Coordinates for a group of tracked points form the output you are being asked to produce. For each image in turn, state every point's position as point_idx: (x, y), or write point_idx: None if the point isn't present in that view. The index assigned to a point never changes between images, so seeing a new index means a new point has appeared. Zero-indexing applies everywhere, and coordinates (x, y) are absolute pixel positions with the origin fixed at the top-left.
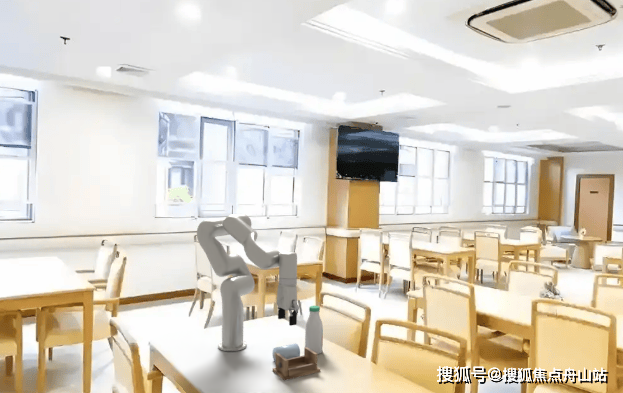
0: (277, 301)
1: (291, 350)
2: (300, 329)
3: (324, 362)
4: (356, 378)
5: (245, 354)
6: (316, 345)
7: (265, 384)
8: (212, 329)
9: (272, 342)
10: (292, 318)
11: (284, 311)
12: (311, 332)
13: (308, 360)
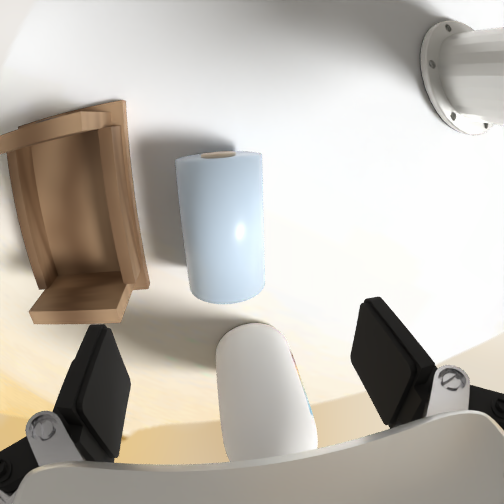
0: (496, 473)
1: (189, 249)
2: (437, 362)
3: (132, 339)
4: (10, 351)
5: (375, 68)
6: (217, 373)
7: (30, 45)
8: None
9: (424, 240)
10: (57, 399)
11: (379, 405)
12: (234, 406)
13: (92, 282)
